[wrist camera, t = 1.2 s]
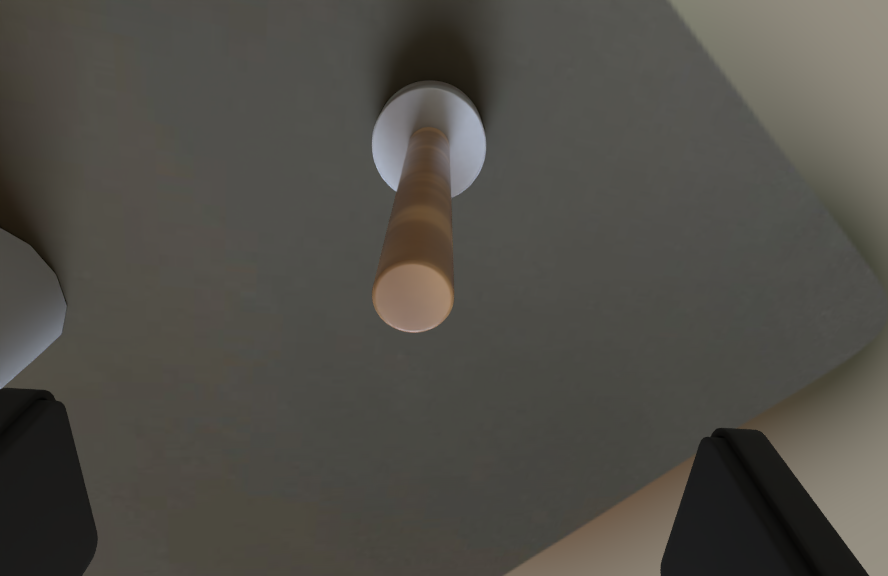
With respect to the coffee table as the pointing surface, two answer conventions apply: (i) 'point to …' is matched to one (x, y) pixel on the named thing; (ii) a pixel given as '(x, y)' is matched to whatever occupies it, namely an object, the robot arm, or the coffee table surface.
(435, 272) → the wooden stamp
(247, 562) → the coffee table surface
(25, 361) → the cup
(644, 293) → the coffee table surface
